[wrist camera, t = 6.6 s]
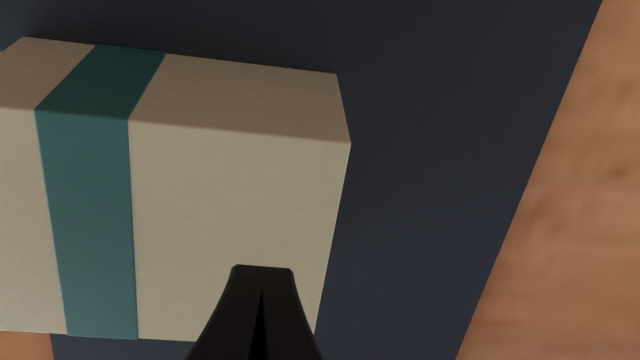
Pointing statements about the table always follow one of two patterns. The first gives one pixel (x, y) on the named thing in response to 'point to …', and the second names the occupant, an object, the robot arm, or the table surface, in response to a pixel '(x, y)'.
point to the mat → (375, 140)
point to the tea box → (158, 185)
